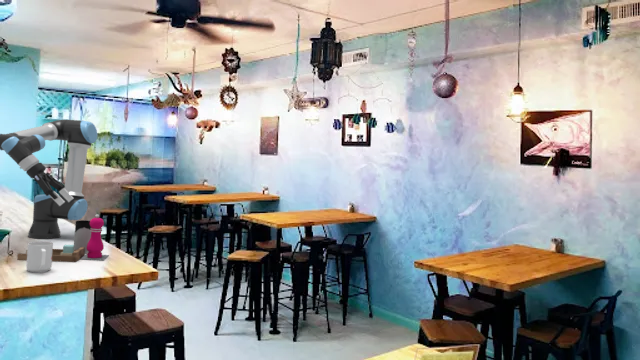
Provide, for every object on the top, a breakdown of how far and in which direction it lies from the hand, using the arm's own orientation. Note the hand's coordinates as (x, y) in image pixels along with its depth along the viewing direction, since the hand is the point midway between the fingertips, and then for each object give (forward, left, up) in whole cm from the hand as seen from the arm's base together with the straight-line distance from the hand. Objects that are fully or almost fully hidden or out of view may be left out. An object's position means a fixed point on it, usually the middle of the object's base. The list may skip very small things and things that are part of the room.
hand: (67, 202), depth 221 cm
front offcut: (+5, -12, -25) cm, 28 cm away
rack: (+5, -3, -25) cm, 26 cm away
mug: (+29, 0, -25) cm, 38 cm away
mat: (+2, +14, -25) cm, 29 cm away
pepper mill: (+2, +14, -25) cm, 28 cm away
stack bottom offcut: (+4, +3, -25) cm, 26 cm away
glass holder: (-11, +5, -25) cm, 28 cm away
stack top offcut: (+4, +3, -22) cm, 23 cm away
